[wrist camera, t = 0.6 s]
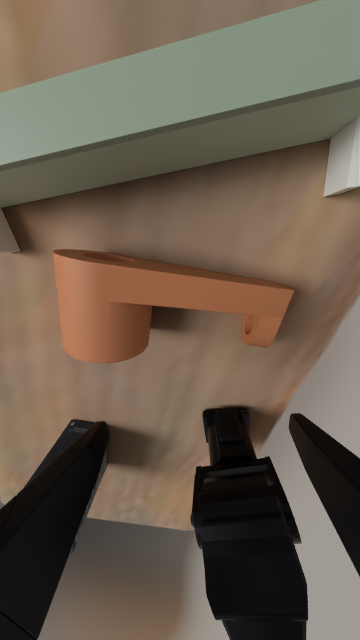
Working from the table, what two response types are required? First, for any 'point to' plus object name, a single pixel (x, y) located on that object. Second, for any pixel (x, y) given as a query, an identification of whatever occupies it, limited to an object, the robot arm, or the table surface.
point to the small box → (63, 442)
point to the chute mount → (190, 108)
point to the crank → (151, 301)
